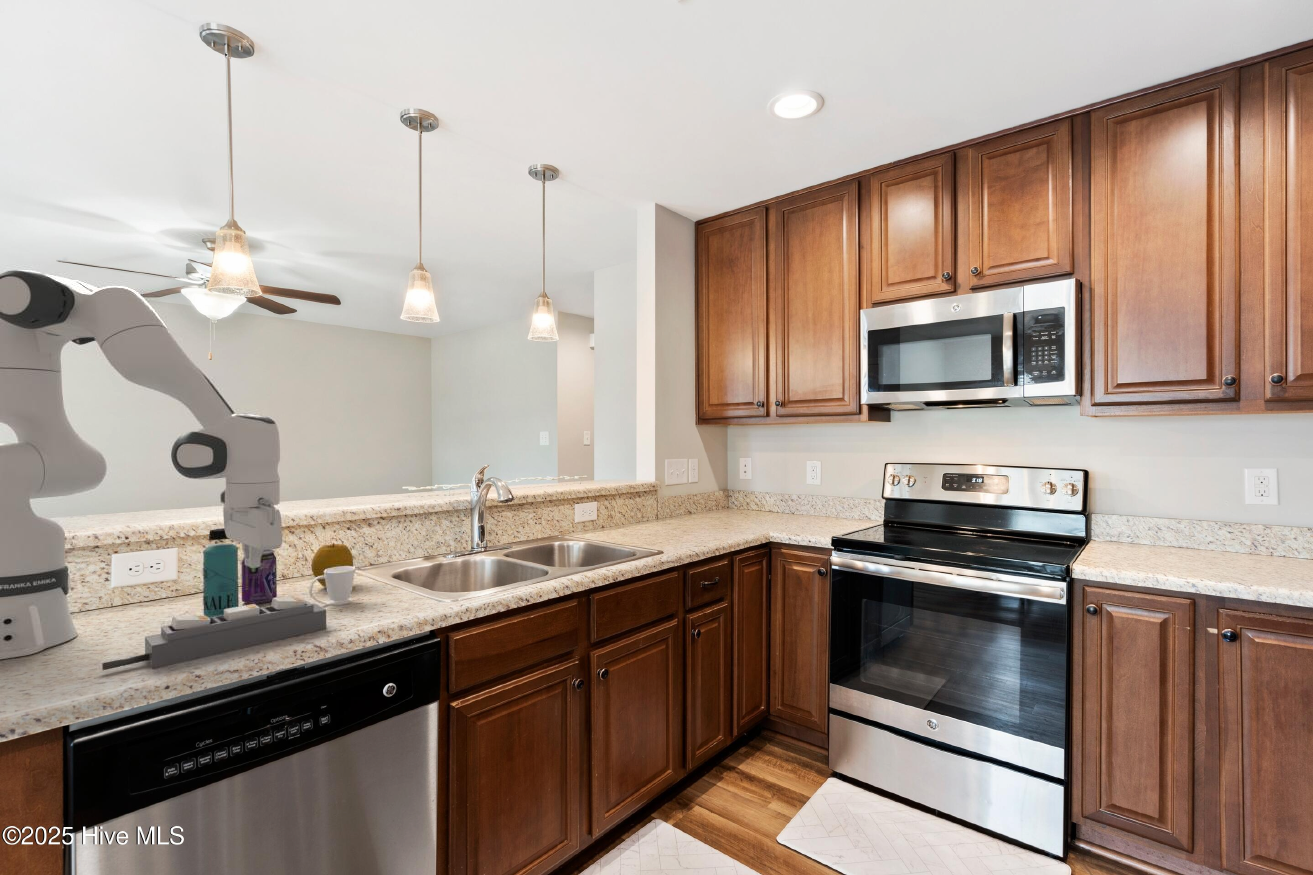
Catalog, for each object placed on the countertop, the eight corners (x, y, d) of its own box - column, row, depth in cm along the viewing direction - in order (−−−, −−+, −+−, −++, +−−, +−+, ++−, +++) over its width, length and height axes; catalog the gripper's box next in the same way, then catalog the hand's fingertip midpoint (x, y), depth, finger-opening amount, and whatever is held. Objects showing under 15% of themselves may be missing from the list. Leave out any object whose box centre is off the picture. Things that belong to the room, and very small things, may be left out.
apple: (309, 593, 153) (309, 547, 152) (313, 584, 161) (313, 541, 161) (352, 589, 157) (352, 544, 157) (354, 580, 165) (353, 538, 165)
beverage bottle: (228, 614, 135) (227, 525, 135) (246, 618, 132) (245, 527, 132) (196, 622, 129) (194, 529, 129) (213, 626, 127) (212, 531, 126)
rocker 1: (174, 629, 108) (177, 619, 108) (170, 624, 110) (173, 615, 110) (208, 628, 111) (210, 618, 112) (203, 624, 114) (205, 614, 114)
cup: (360, 602, 144) (360, 569, 144) (314, 611, 137) (314, 576, 137) (350, 596, 149) (350, 564, 149) (305, 605, 142) (305, 571, 142)
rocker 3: (276, 609, 120) (278, 600, 120) (270, 605, 122) (272, 597, 122) (303, 609, 123) (305, 600, 124) (297, 605, 126) (299, 597, 126)
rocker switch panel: (105, 679, 100) (104, 646, 100) (100, 668, 104) (99, 637, 104) (326, 628, 125) (326, 602, 125) (314, 621, 130) (313, 596, 130)
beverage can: (259, 606, 142) (259, 555, 141) (234, 604, 143) (233, 554, 143) (283, 598, 148) (283, 549, 148) (259, 596, 150) (259, 548, 150)
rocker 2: (228, 621, 114) (228, 612, 114) (223, 617, 116) (223, 608, 116) (259, 615, 117) (259, 606, 117) (254, 611, 120) (253, 603, 120)
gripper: (292, 499, 114) (291, 572, 114) (252, 491, 127) (252, 556, 127) (254, 502, 109) (253, 578, 109) (217, 493, 122) (216, 561, 122)
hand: (252, 566), depth 118 cm, fingers closed
